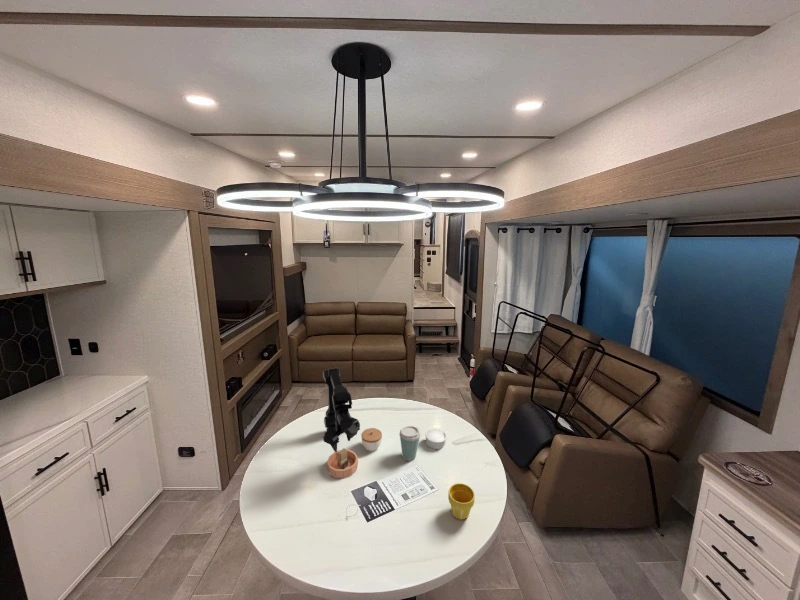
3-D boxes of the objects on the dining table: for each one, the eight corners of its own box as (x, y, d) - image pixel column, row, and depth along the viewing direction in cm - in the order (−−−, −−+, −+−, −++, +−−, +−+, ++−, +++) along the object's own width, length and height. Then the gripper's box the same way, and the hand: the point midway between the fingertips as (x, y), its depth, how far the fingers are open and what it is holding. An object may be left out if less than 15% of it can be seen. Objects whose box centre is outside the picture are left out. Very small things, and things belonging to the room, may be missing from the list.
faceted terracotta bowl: (321, 470, 150) (321, 462, 149) (341, 453, 162) (341, 446, 161) (344, 482, 143) (343, 475, 142) (363, 464, 154) (363, 456, 153)
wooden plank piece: (338, 467, 151) (338, 452, 149) (344, 462, 154) (343, 448, 152) (341, 469, 150) (341, 454, 148) (347, 463, 153) (346, 449, 151)
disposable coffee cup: (395, 460, 157) (396, 433, 154) (403, 446, 167) (403, 421, 164) (416, 466, 154) (417, 439, 150) (422, 452, 163) (423, 426, 160)
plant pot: (446, 501, 134) (447, 482, 132) (470, 502, 134) (472, 483, 131) (448, 524, 124) (450, 503, 122) (475, 525, 123) (477, 504, 121)
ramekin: (447, 451, 164) (447, 442, 163) (425, 450, 165) (426, 441, 163) (444, 437, 175) (445, 429, 174) (424, 436, 175) (424, 428, 174)
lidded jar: (383, 441, 171) (383, 426, 169) (380, 455, 161) (380, 438, 159) (363, 439, 172) (363, 424, 170) (359, 453, 162) (359, 437, 160)
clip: (337, 466, 152) (337, 460, 151) (341, 462, 154) (341, 456, 154) (343, 469, 150) (343, 463, 149) (348, 465, 152) (348, 460, 152)
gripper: (340, 433, 134) (341, 464, 138) (367, 412, 150) (368, 441, 153) (321, 424, 140) (323, 455, 143) (349, 405, 155) (350, 433, 159)
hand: (342, 446), depth 149 cm, fingers open, 9 cm apart
